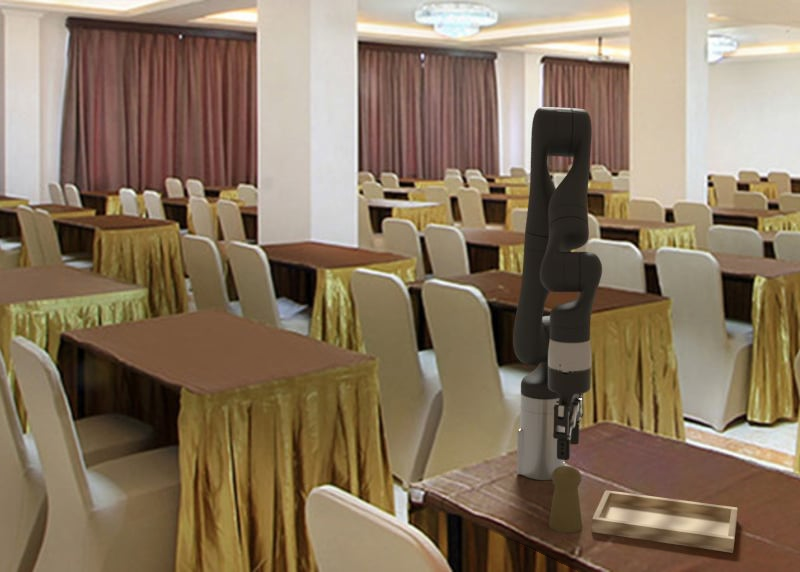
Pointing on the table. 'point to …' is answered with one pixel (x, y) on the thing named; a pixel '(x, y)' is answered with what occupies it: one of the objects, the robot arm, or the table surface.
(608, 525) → the birch tray
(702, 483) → the table surface
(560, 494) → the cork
